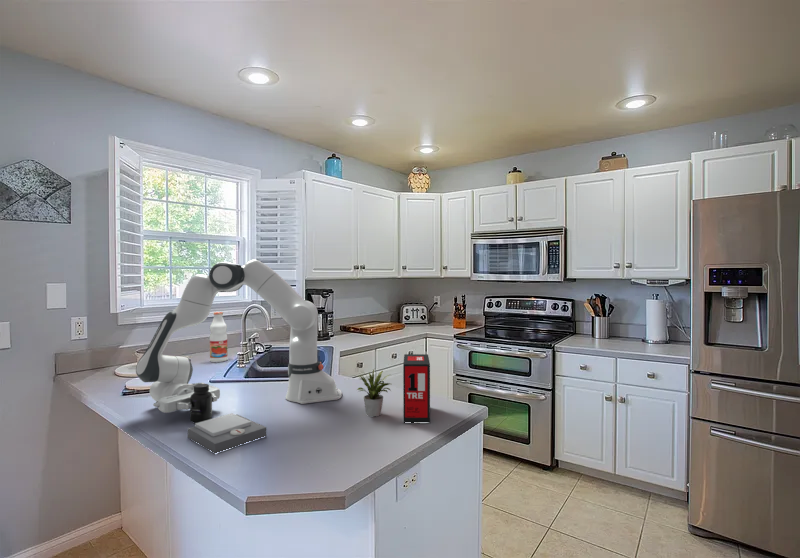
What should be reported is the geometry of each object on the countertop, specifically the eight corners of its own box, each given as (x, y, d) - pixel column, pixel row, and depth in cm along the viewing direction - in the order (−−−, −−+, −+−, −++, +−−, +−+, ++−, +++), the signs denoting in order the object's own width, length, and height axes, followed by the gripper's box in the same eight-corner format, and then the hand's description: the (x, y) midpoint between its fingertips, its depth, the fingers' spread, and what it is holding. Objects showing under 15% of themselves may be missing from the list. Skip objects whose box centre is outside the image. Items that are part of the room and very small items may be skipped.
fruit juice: (225, 358, 243) (225, 311, 242) (229, 361, 235) (228, 312, 235) (208, 360, 237) (207, 312, 237) (211, 363, 230) (211, 313, 229)
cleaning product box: (430, 423, 137) (429, 364, 137) (403, 423, 138) (403, 364, 137) (428, 407, 154) (428, 354, 154) (404, 407, 154) (404, 354, 154)
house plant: (357, 424, 136) (357, 376, 136) (345, 411, 149) (345, 367, 149) (396, 418, 142) (396, 371, 142) (382, 406, 155) (382, 363, 154)
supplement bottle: (190, 424, 137) (189, 389, 137) (190, 418, 143) (189, 384, 143) (212, 421, 140) (212, 386, 140) (211, 415, 146) (211, 381, 146)
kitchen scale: (237, 423, 138) (237, 411, 138) (266, 436, 127) (266, 424, 127) (187, 437, 126) (187, 424, 126) (215, 454, 114) (215, 440, 114)
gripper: (150, 395, 140) (171, 401, 132) (206, 381, 157) (228, 386, 149) (150, 413, 140) (172, 421, 132) (207, 397, 157) (229, 404, 150)
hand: (202, 402), depth 141 cm, fingers open, 8 cm apart
